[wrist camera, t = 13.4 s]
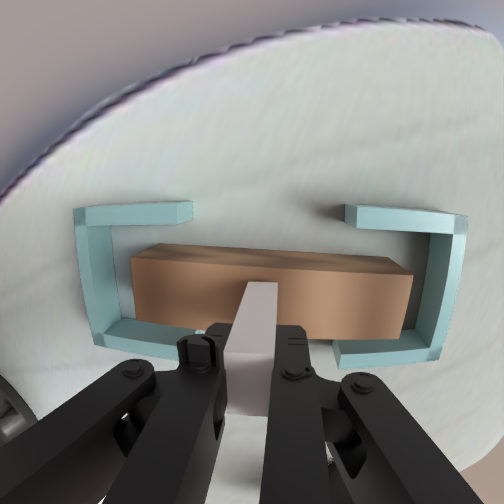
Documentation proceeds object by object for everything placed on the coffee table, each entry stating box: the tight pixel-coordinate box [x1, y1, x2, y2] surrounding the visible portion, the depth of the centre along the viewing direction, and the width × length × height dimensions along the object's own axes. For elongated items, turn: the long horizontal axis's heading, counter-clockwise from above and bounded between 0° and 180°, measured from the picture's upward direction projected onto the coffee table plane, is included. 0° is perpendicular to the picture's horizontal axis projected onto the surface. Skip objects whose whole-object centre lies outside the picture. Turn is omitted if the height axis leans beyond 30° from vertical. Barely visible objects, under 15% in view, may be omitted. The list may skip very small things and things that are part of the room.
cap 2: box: [332, 204, 468, 369], centre depth 16 cm, size 8×10×3 cm
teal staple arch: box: [73, 201, 199, 361], centre depth 18 cm, size 8×10×3 cm
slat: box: [130, 243, 414, 340], centre depth 17 cm, size 16×4×4 cm, turn 88°
